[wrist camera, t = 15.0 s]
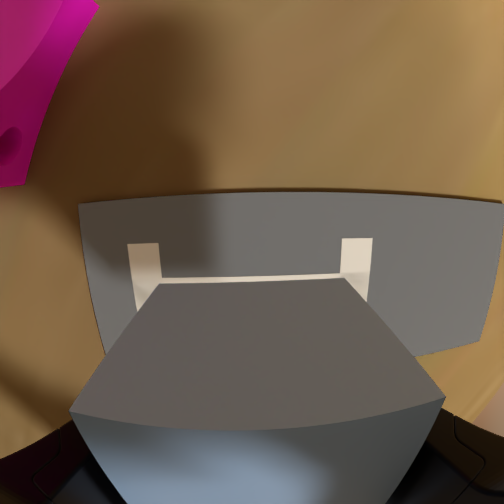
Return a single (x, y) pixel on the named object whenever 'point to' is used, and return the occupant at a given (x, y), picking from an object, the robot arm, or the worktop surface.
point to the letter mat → (303, 253)
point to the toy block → (32, 71)
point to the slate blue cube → (257, 398)
